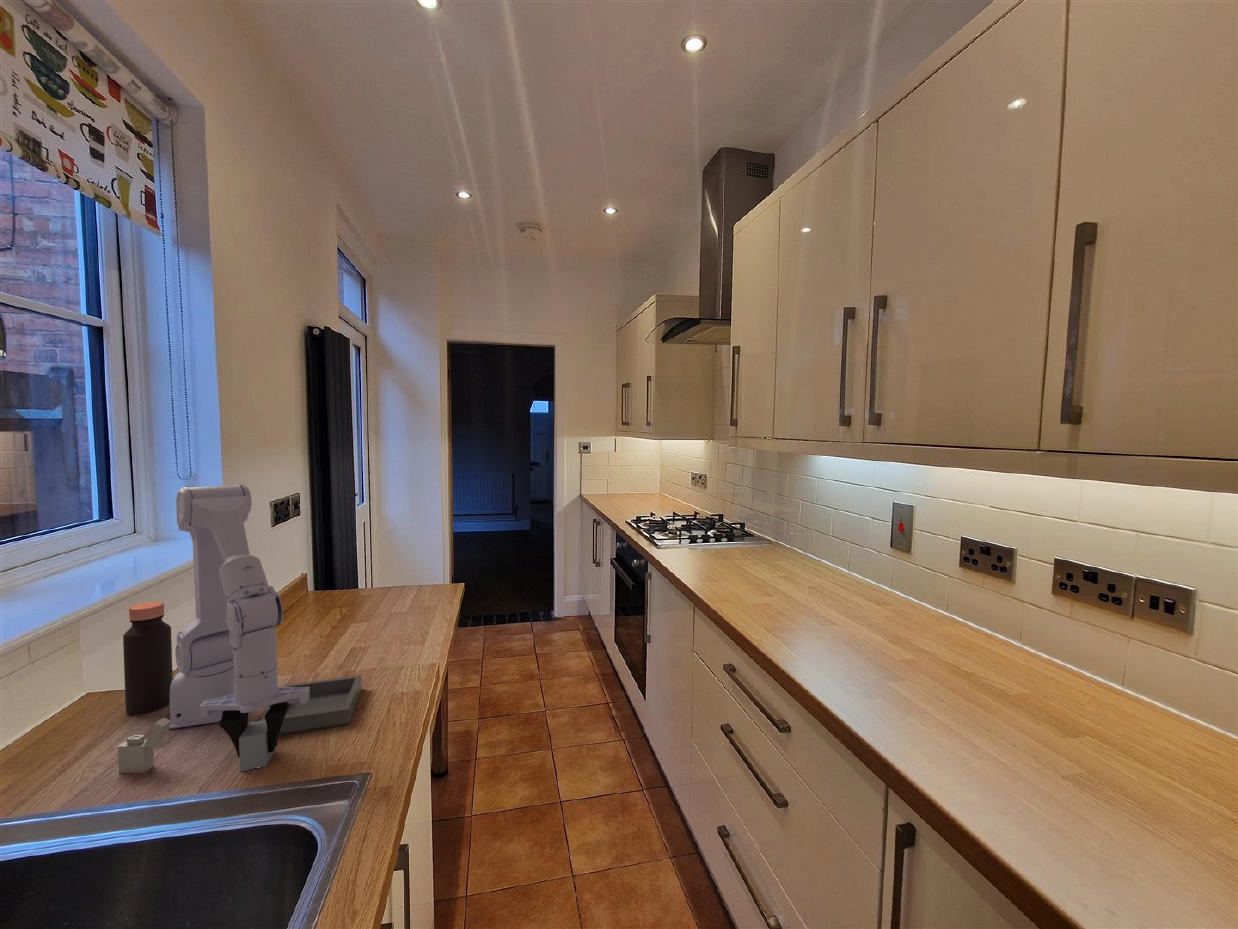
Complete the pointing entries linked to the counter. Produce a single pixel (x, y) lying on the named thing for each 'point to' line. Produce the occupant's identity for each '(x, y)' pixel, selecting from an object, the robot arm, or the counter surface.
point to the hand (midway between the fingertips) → (258, 751)
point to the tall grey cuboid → (254, 746)
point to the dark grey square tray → (323, 705)
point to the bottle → (147, 659)
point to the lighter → (141, 749)
